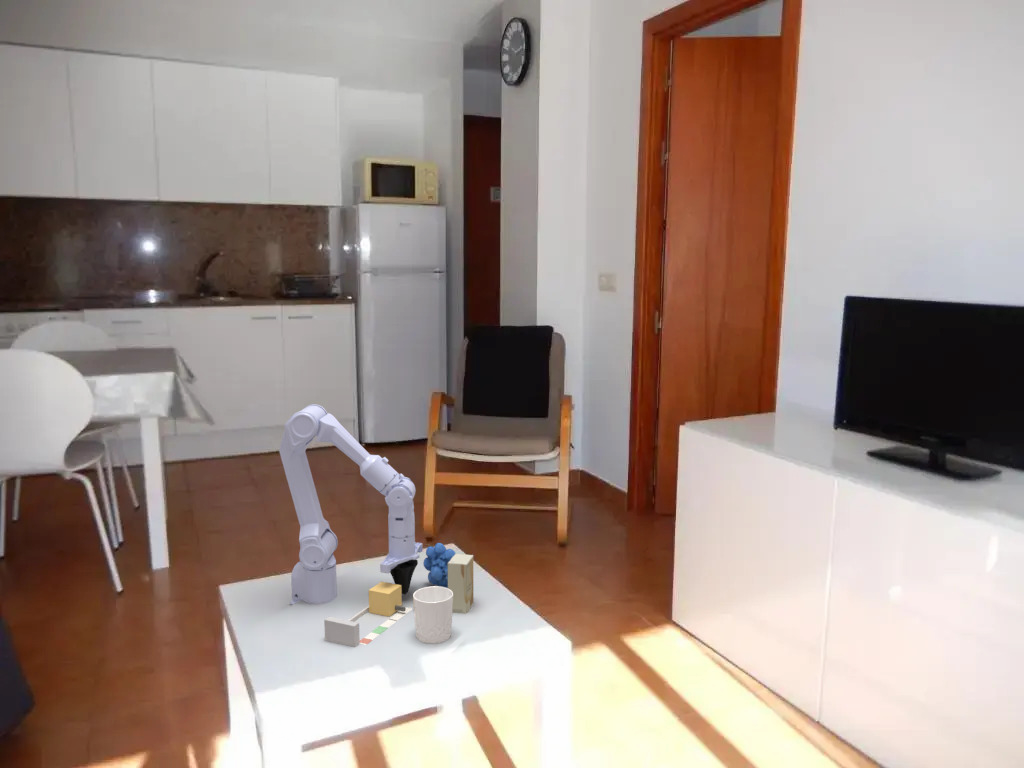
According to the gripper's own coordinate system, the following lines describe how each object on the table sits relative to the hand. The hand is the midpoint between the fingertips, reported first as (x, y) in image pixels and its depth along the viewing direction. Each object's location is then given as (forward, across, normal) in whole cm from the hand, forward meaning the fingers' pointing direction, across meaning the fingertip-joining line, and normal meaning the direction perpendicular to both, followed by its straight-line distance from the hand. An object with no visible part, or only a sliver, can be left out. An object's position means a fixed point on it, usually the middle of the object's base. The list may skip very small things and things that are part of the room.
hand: (402, 592), depth 169 cm
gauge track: (+2, -13, 0) cm, 13 cm away
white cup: (+3, -13, -15) cm, 20 cm away
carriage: (+1, -7, -1) cm, 7 cm away
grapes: (+3, +7, -6) cm, 10 cm away
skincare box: (+3, +1, -14) cm, 14 cm away
